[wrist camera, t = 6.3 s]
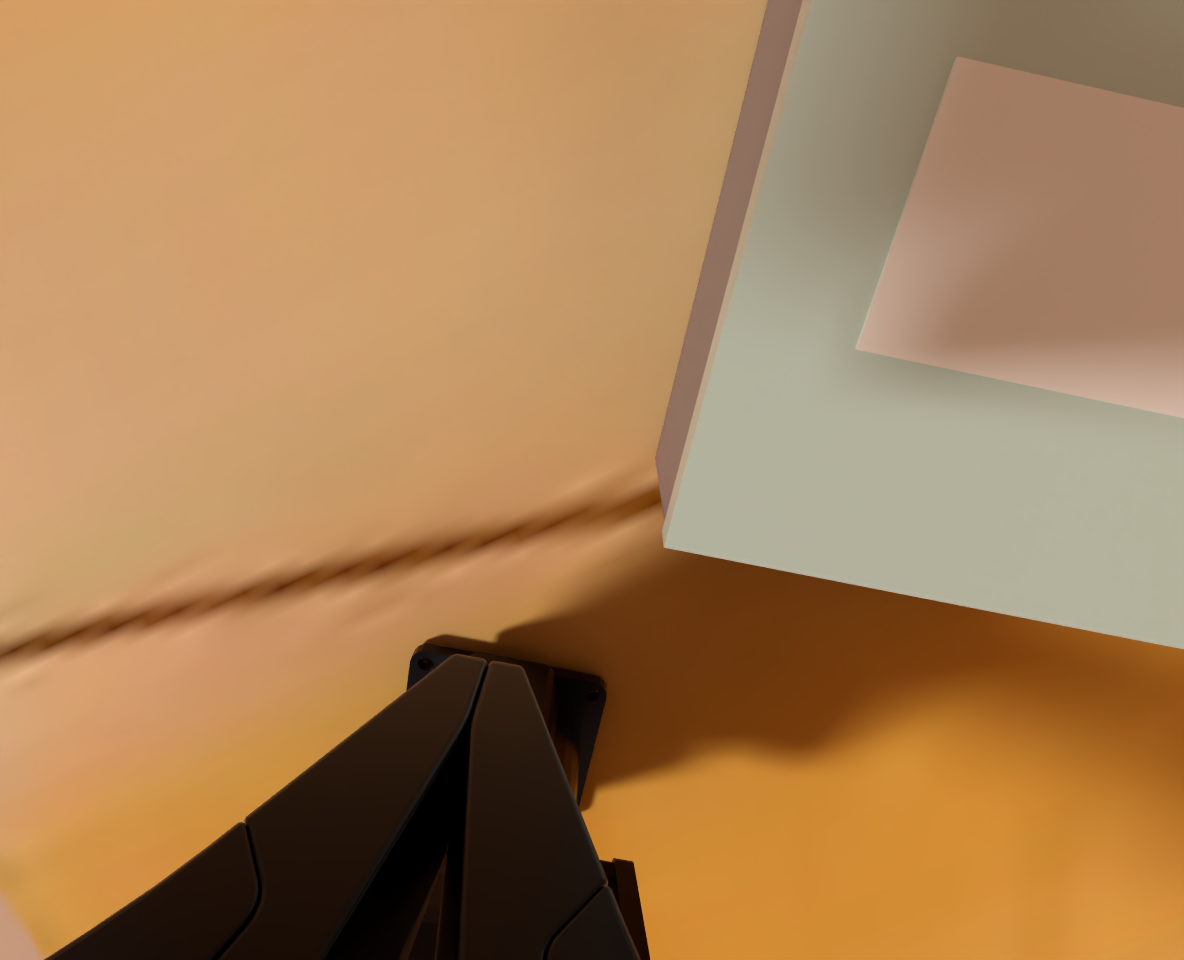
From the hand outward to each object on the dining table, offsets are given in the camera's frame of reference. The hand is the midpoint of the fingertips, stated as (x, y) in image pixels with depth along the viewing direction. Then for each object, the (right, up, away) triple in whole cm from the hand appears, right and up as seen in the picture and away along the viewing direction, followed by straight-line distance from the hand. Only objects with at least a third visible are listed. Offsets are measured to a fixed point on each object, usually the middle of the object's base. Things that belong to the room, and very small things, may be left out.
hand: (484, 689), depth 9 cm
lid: (+10, +6, +6) cm, 13 cm away
